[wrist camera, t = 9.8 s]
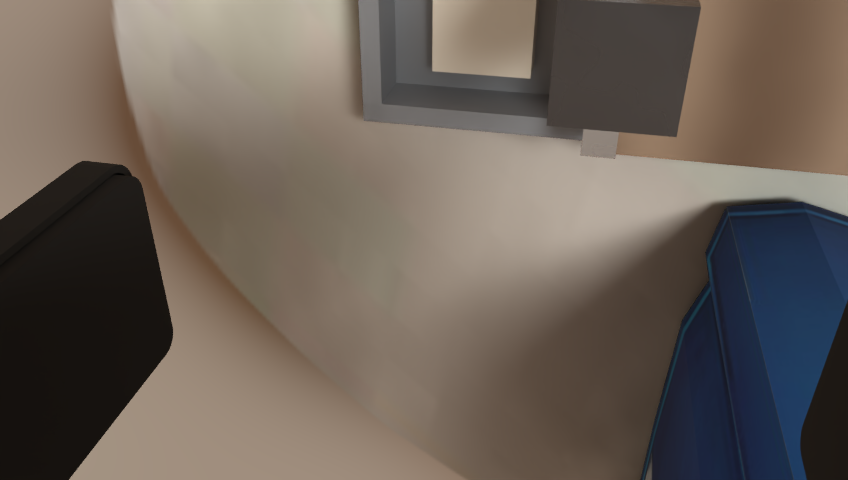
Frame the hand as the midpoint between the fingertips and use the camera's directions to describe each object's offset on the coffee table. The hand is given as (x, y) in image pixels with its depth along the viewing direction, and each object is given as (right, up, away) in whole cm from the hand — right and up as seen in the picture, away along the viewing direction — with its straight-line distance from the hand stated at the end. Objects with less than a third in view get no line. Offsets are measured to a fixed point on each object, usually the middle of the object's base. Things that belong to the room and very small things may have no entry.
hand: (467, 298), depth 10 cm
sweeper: (+6, +10, +16) cm, 19 cm away
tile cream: (+2, +9, +20) cm, 22 cm away
